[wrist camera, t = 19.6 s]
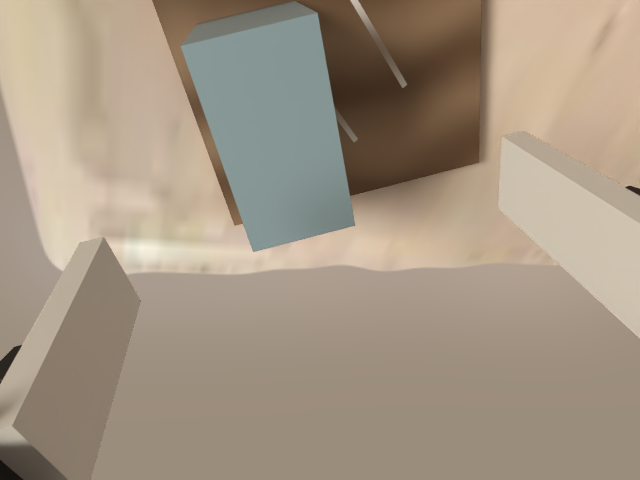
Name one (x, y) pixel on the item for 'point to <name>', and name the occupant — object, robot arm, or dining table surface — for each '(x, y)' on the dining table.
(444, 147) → the board
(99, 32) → the dining table surface
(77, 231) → the dining table surface
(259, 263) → the dining table surface
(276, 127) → the block
